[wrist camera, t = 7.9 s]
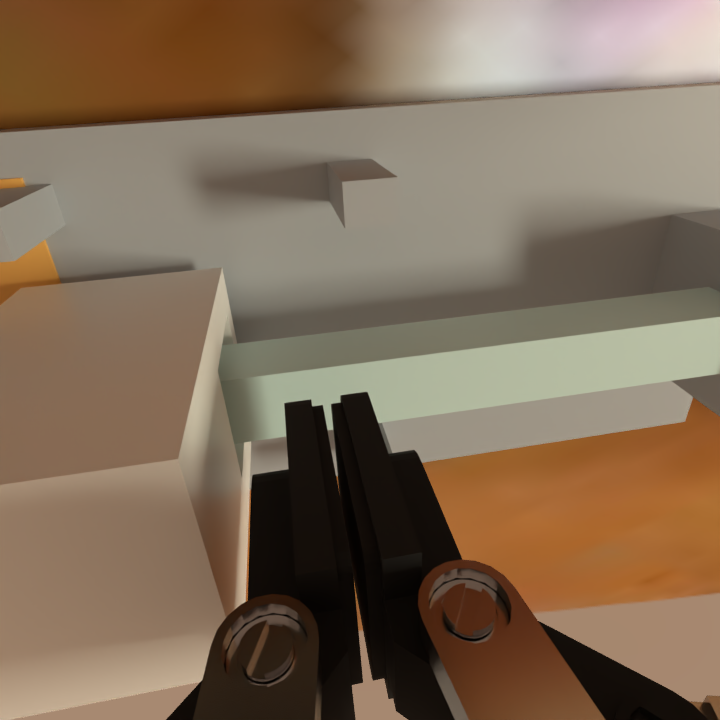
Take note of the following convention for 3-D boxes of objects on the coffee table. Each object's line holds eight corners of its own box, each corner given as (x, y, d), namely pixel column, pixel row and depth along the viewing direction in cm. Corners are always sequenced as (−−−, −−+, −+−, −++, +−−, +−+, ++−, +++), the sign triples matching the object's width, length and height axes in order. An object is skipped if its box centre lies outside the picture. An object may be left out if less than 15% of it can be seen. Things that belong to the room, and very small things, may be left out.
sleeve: (21, 287, 13) (-261, 522, 6) (222, 267, 13) (178, 458, 6) (85, 443, 15) (-61, 734, 8) (252, 419, 16) (242, 673, 9)
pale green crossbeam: (-270, 389, 11) (-381, 454, 9) (735, 272, 15) (809, 301, 13) (-209, 465, 13) (-297, 537, 11) (711, 341, 16) (776, 378, 14)
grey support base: (-374, 154, 12) (-1159, 240, 5) (755, 79, 15) (1112, 76, 9) (-110, 515, 18) (-326, 765, 11) (659, 401, 21) (831, 539, 15)
